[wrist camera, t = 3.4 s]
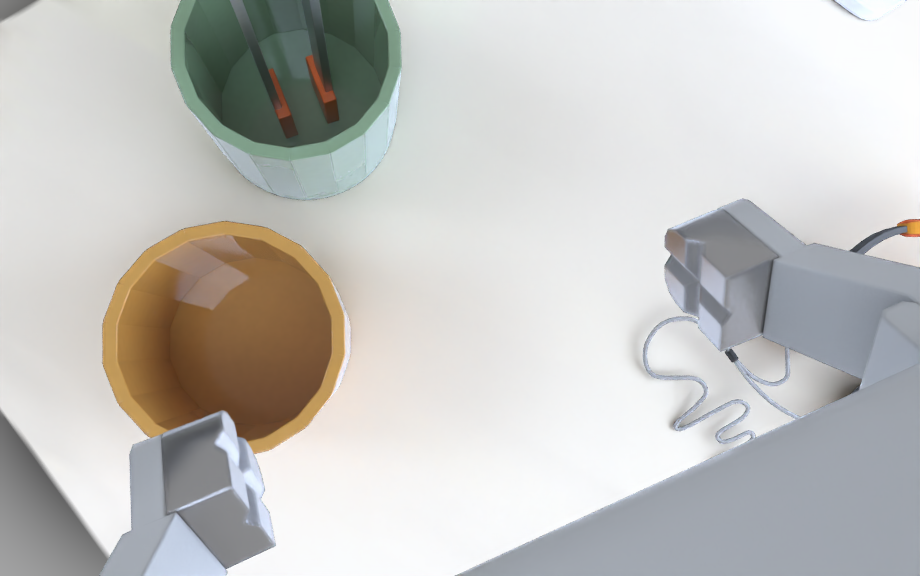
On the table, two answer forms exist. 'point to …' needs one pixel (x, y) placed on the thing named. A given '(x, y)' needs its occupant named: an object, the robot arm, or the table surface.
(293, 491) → the table surface
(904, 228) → the headphones
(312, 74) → the tongs
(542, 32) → the table surface
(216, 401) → the ochre crock
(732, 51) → the table surface
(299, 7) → the green crock
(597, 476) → the table surface
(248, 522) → the robot arm
